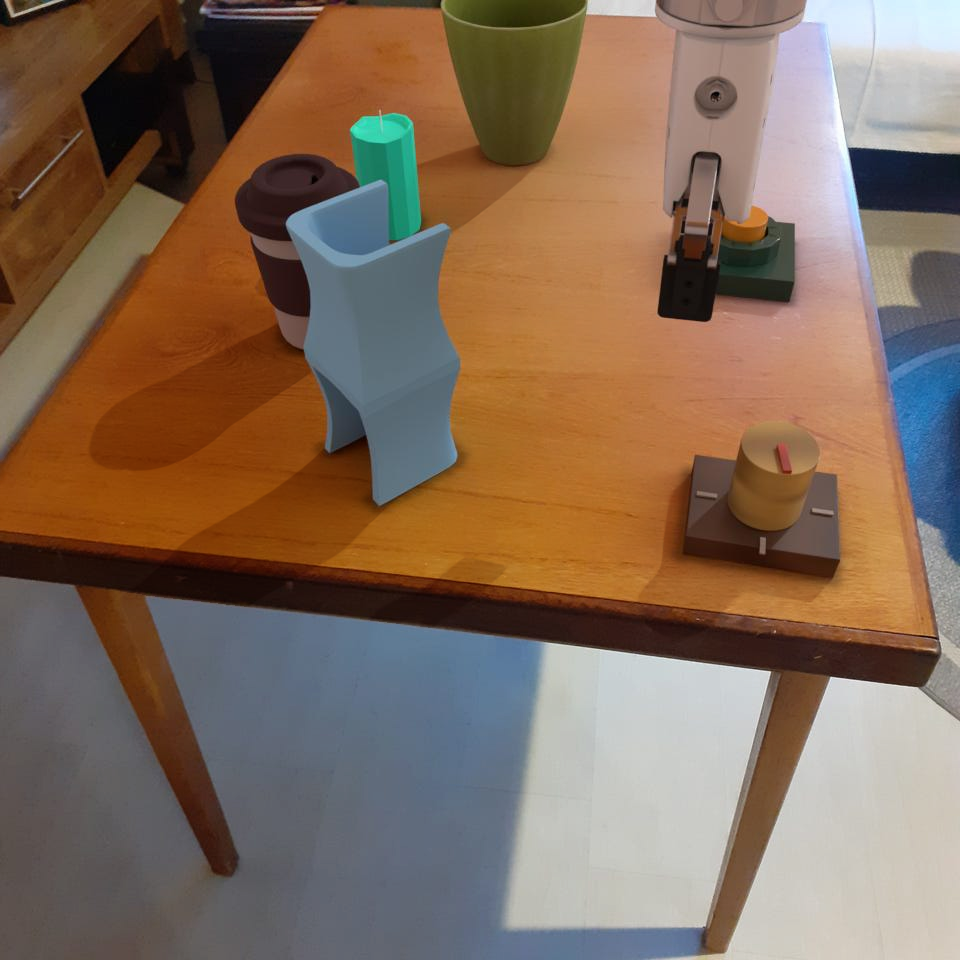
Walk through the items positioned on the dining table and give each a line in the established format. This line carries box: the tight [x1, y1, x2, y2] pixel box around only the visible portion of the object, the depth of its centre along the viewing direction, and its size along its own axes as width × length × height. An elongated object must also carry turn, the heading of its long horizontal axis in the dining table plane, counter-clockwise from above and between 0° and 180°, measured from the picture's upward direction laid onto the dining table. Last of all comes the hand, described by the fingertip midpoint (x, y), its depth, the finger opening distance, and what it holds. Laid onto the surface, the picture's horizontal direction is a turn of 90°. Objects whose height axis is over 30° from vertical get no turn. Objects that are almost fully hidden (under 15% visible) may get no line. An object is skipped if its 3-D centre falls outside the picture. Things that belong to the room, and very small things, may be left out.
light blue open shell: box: [286, 180, 461, 507], centre depth 64 cm, size 8×8×20 cm
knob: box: [727, 420, 821, 531], centre depth 62 cm, size 5×5×6 cm
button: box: [721, 205, 769, 243], centre depth 84 cm, size 4×4×2 cm
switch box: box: [707, 215, 796, 303], centre depth 86 cm, size 10×10×4 cm
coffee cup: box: [234, 153, 360, 351], centre depth 77 cm, size 10×10×15 cm
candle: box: [349, 109, 422, 242], centre depth 90 cm, size 6×6×12 cm
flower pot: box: [440, 0, 589, 166], centre depth 99 cm, size 15×15×16 cm
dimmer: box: [682, 454, 841, 579], centre depth 64 cm, size 10×9×2 cm
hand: (690, 272), depth 59 cm, fingers open, 9 cm apart
